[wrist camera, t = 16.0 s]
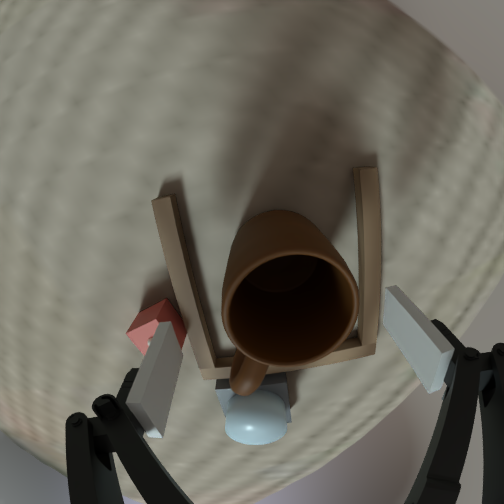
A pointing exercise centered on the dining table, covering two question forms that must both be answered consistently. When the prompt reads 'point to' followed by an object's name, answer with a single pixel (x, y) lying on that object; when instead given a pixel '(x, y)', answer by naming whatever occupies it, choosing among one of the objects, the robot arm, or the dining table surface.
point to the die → (155, 324)
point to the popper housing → (270, 383)
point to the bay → (368, 281)
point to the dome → (256, 418)
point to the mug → (284, 297)
